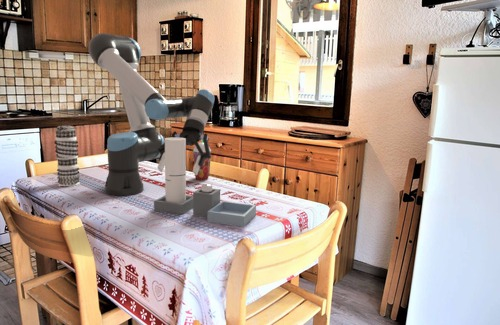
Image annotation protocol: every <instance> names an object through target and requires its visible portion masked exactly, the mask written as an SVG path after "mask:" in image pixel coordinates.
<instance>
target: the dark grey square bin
mask: <svg viewBox="0 0 500 325" xmlns="http://www.w3.org/2000/svg"><path fill="white" fill-rule="evenodd" d="M190 210H193V195H188V194H186V201H185V202H183V203H173V202H166V195H165V194H164V195H163V196H162V197H161V196H160V197H159V198H157V199H155V200H153V211H155V212H162V213H167V214H168V213H170V214H174V215H175V214H177V215H184V214H186V213H187V212H188V211H190Z"/></svg>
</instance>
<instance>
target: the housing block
mask: <svg viewBox="0 0 500 325" xmlns="http://www.w3.org/2000/svg"><path fill="white" fill-rule="evenodd" d="M192 196H193V208H192V216H198V217H205V218H206V217H207V211H209V210H210V209H212V208H213V207H214V206H216V205H217V204H219V203H220V202H221V189H219V188H212V193H204V192H202V187H200V188H198V189H196V190H195V191H193V193H192Z"/></svg>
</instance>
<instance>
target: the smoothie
mask: <svg viewBox="0 0 500 325" xmlns="http://www.w3.org/2000/svg"><path fill="white" fill-rule="evenodd" d="M198 144H199V146H200V148H201V149H202V151H203V153H204V154H205V153H206V151H205V146H204V142H203V140H202V139H201V141H200V142H198ZM209 149H210V154H211V155H212V149H211V147H210V146H209ZM192 152H193V165H194V166H195V163H196V160H197V158H198V155H199V156H201V155H200V153H199V151H198V149H197V148H196V146H195V145H194V148H193V149H192ZM211 158H212V157H211ZM211 158H210V159H209V158H206V159H205V161H204V163H203V166H200V168H199V171H198V174H197V175H195V174H194V177H195V179H196V180H199V181H206V180H208V179H209V177H210V171H211ZM194 166H193V167H194Z"/></svg>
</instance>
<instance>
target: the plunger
mask: <svg viewBox="0 0 500 325" xmlns="http://www.w3.org/2000/svg"><path fill="white" fill-rule="evenodd" d="M201 188H202V192H204V193H212V189H213V184H211V183H203V184H201Z"/></svg>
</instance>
